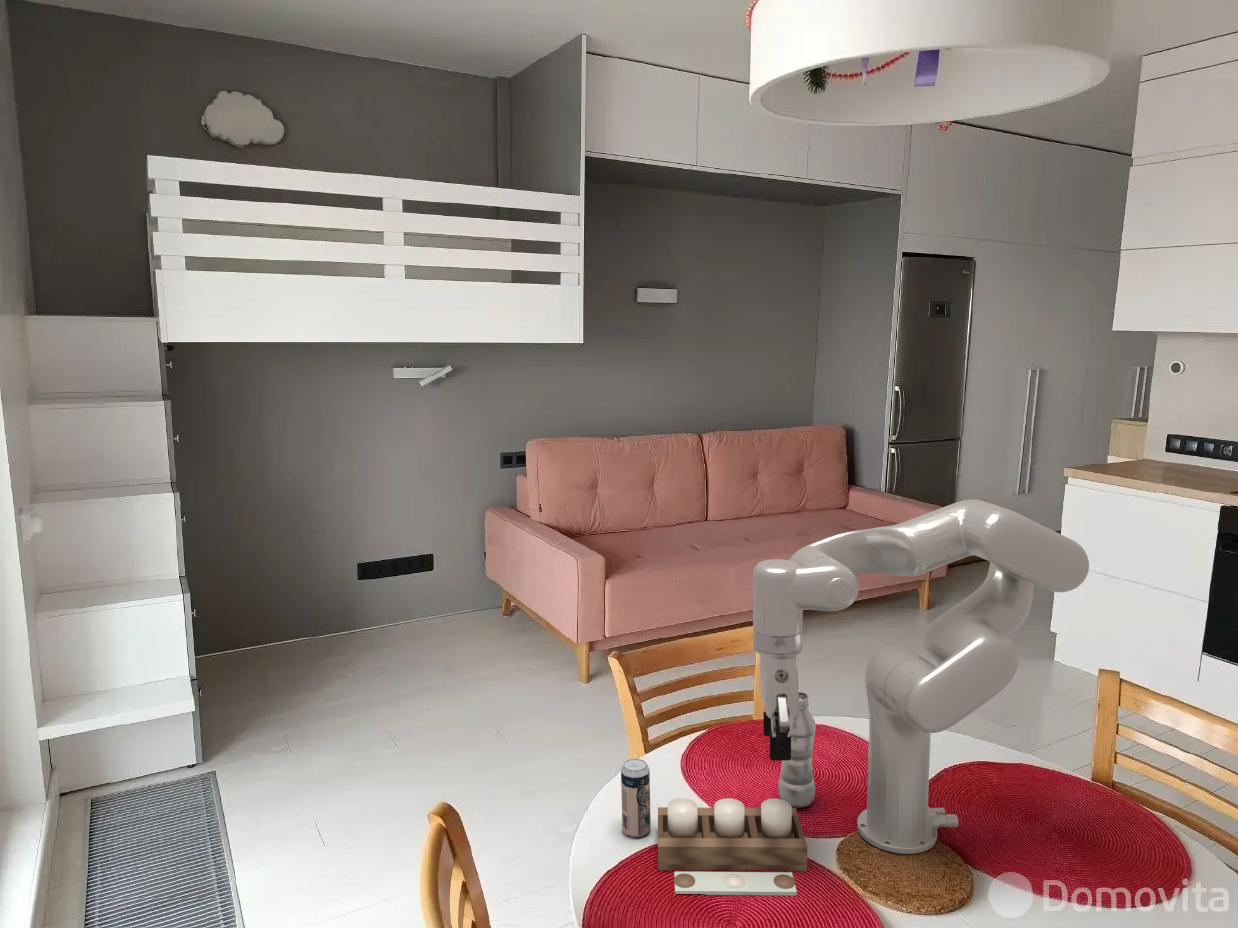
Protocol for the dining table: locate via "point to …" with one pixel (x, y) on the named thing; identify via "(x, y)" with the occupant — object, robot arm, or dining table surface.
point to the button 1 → (682, 818)
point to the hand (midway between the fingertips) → (776, 746)
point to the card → (735, 883)
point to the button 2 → (776, 819)
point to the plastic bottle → (799, 759)
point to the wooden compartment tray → (731, 846)
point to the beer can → (635, 797)
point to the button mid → (729, 818)
